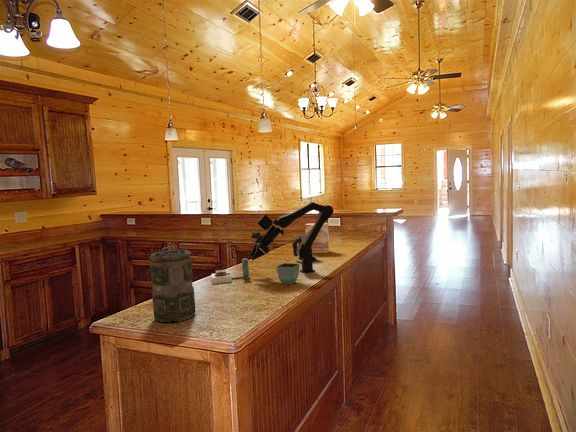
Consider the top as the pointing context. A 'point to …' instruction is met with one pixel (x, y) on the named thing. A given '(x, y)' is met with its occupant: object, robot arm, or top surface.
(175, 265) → the canister
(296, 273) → the flower pot
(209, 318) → the top surface
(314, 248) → the coffeecake box
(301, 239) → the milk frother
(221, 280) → the lane
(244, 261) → the tethered block
